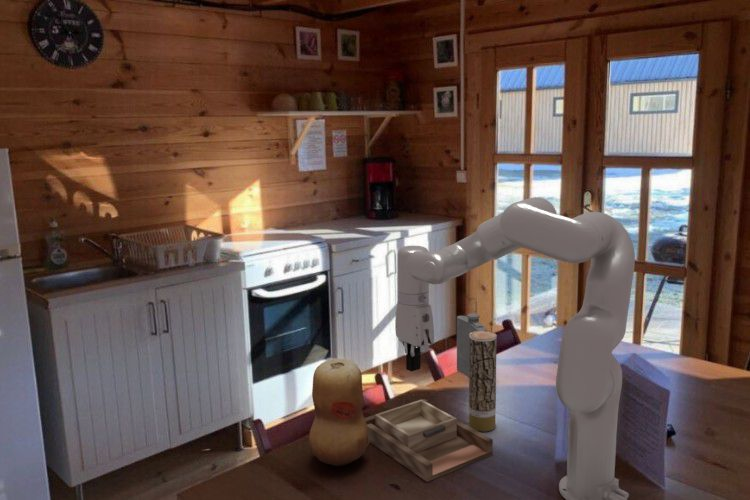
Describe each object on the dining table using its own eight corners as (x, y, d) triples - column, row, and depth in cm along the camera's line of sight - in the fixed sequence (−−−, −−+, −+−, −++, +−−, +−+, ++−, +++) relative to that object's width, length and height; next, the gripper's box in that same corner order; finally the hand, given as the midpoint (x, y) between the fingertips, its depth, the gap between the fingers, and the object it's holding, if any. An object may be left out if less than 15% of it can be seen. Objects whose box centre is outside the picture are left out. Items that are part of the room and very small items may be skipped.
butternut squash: (316, 481, 147) (311, 376, 142) (306, 453, 160) (301, 355, 155) (375, 471, 150) (373, 368, 145) (361, 444, 163) (358, 348, 158)
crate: (459, 438, 162) (459, 419, 161) (411, 457, 154) (410, 437, 153) (421, 416, 175) (421, 399, 174) (375, 433, 166) (374, 414, 165)
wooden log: (495, 433, 167) (496, 340, 162) (468, 431, 168) (468, 338, 163) (495, 421, 173) (496, 331, 168) (469, 420, 175) (470, 330, 170)
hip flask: (455, 368, 210) (455, 308, 206) (466, 366, 212) (466, 307, 208) (479, 387, 196) (479, 323, 192) (491, 385, 197) (491, 321, 193)
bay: (492, 454, 157) (492, 435, 156) (427, 482, 146) (426, 461, 145) (424, 415, 178) (424, 398, 177) (362, 437, 167) (362, 419, 166)
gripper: (445, 302, 154) (444, 375, 157) (407, 288, 166) (407, 357, 170) (420, 307, 150) (420, 383, 153) (382, 293, 162) (383, 363, 165)
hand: (413, 369), depth 161 cm, fingers closed
